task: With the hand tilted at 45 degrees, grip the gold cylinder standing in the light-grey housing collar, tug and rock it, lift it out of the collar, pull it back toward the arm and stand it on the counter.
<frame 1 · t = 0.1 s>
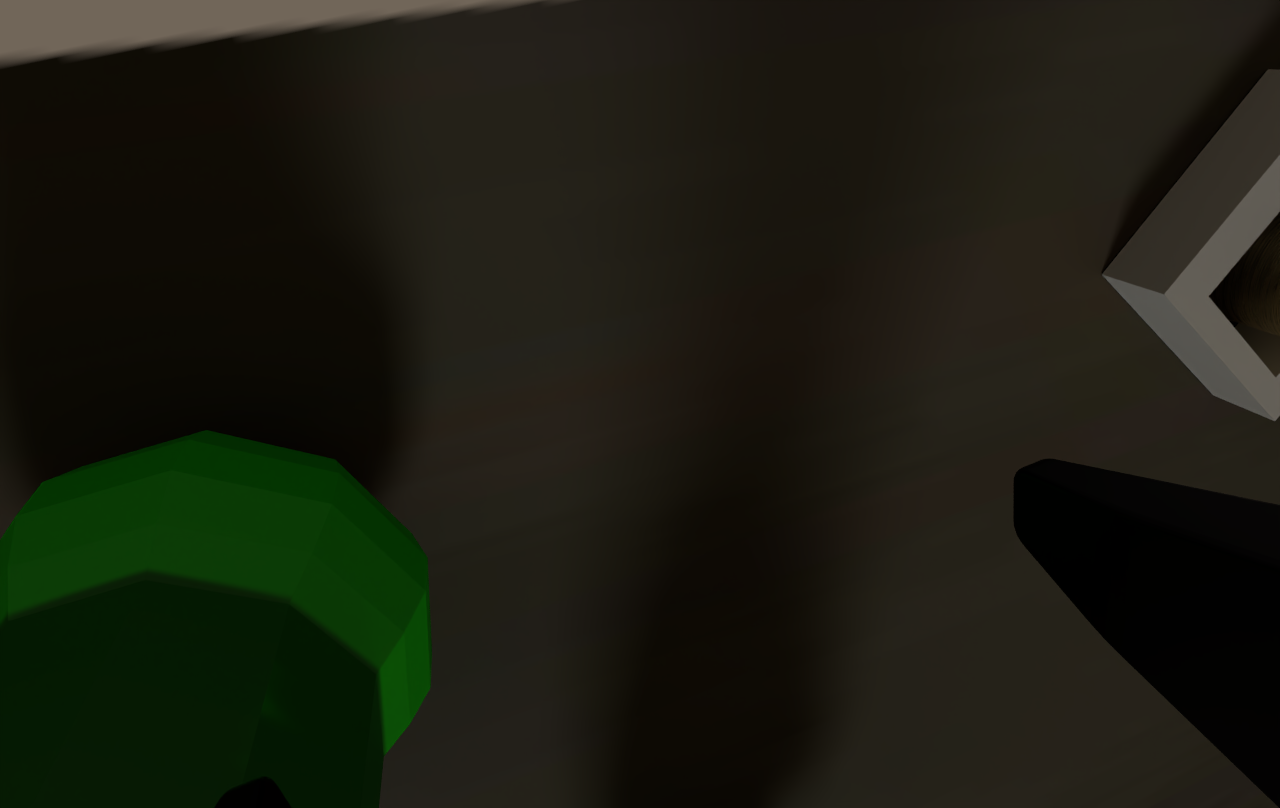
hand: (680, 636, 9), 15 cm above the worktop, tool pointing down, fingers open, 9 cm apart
plastic bottle: (255, 531, 22), on the worktop, touching gripper
housing: (1232, 254, 30), on the worktop
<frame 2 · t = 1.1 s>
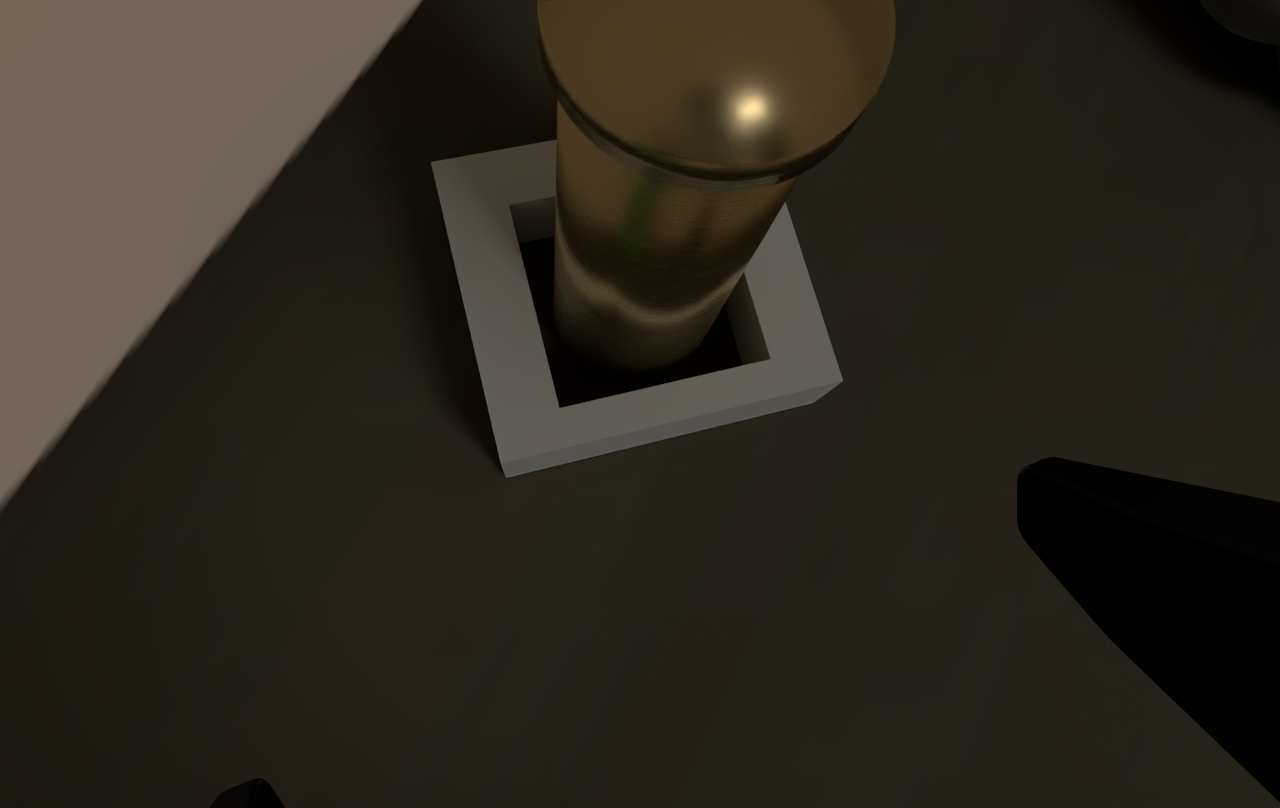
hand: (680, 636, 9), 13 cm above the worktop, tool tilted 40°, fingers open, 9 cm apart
gold cylinder: (658, 212, 18), in the housing
housing: (629, 313, 24), on the worktop
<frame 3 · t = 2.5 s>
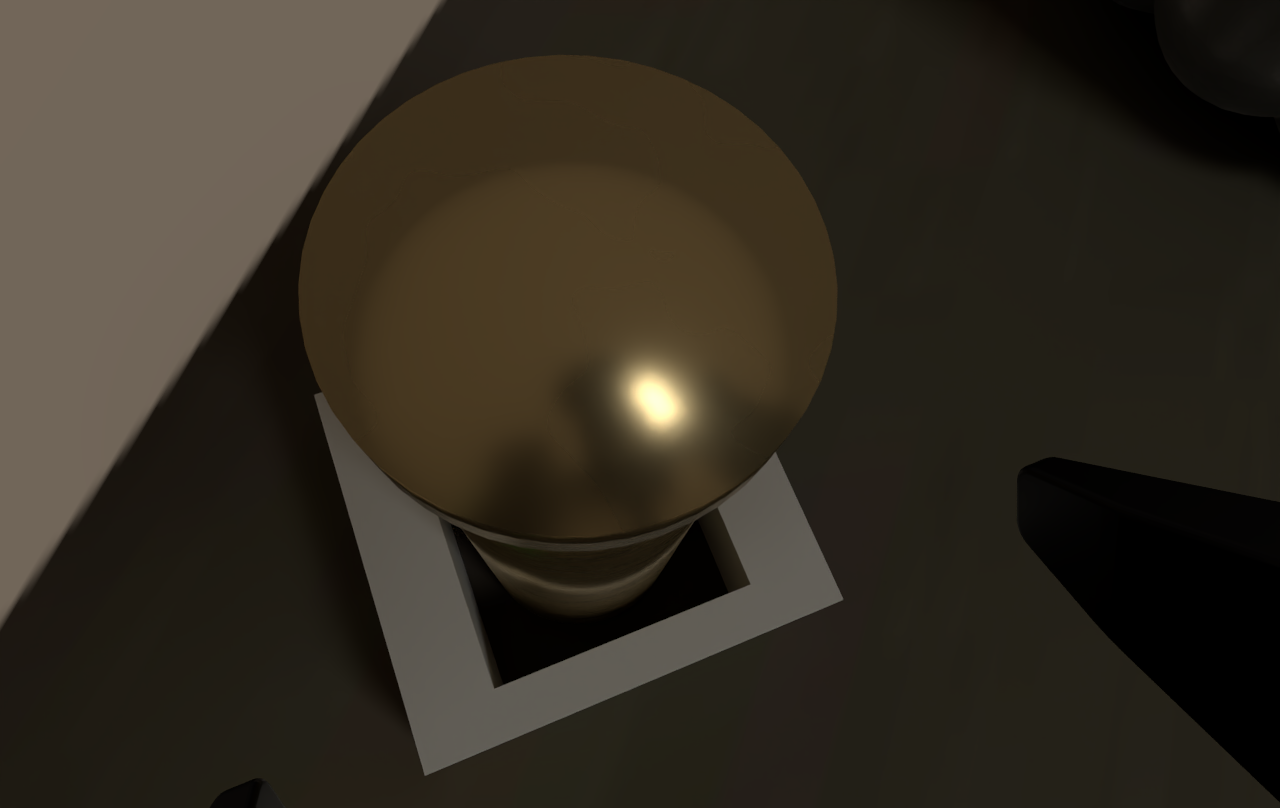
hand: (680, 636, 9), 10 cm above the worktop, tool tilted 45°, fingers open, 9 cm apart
gold cylinder: (577, 457, 14), in the housing
housing: (578, 530, 20), on the worktop
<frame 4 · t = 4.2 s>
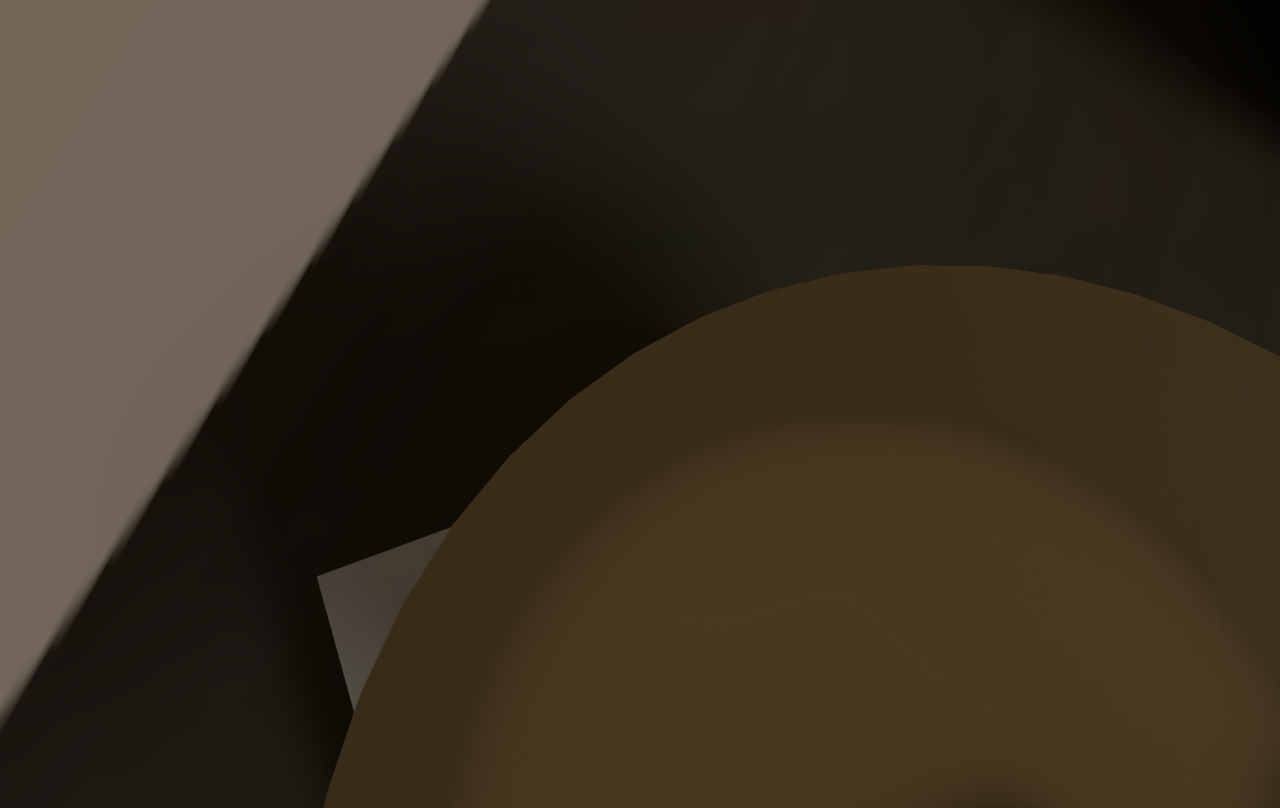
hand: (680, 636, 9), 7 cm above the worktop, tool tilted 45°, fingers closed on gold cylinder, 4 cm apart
gold cylinder: (728, 762, 9), in the housing, touching gripper
housing: (667, 732, 15), on the worktop
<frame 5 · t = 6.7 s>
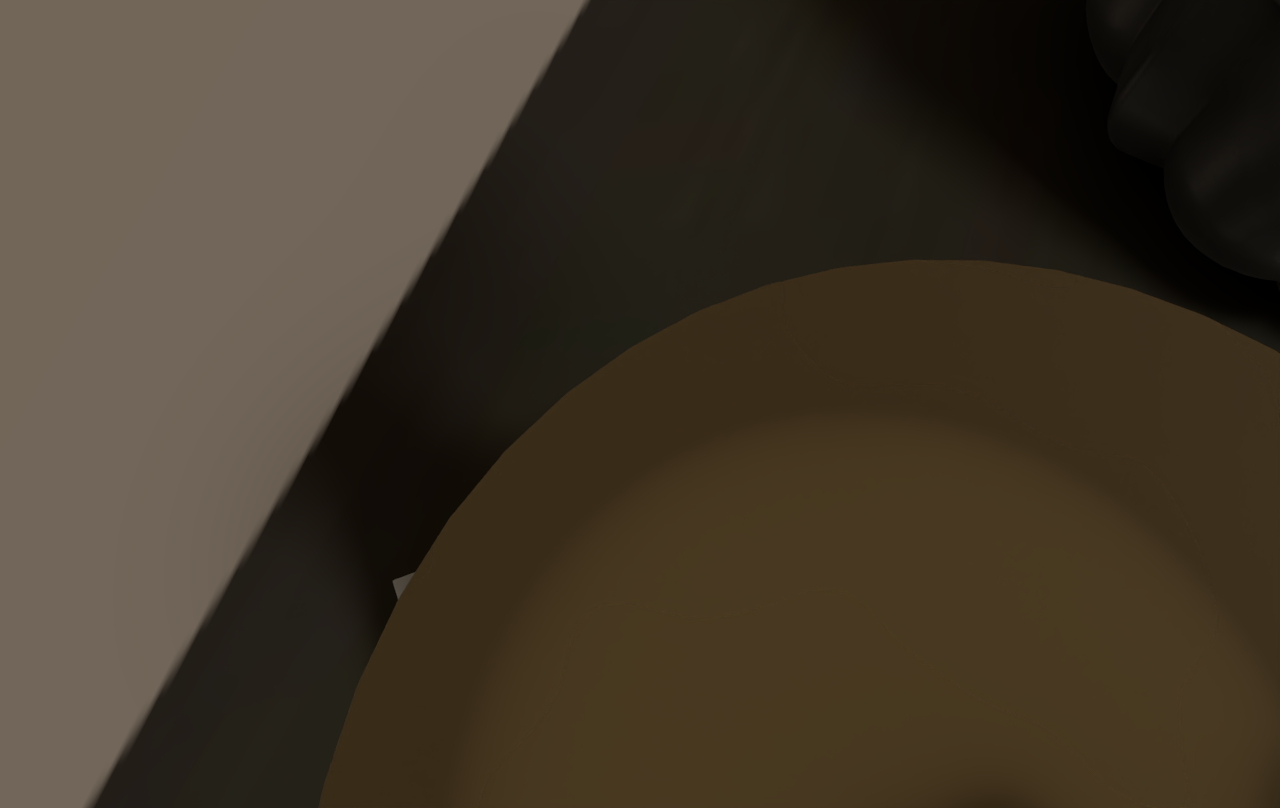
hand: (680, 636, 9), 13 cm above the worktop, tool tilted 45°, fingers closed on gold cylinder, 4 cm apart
gold cylinder: (727, 759, 9), point 13 cm above the worktop, touching gripper
when the fingers open (7 cm above the worktop, at t = 9.2 s): gold cylinder stays where it is, on the worktop.
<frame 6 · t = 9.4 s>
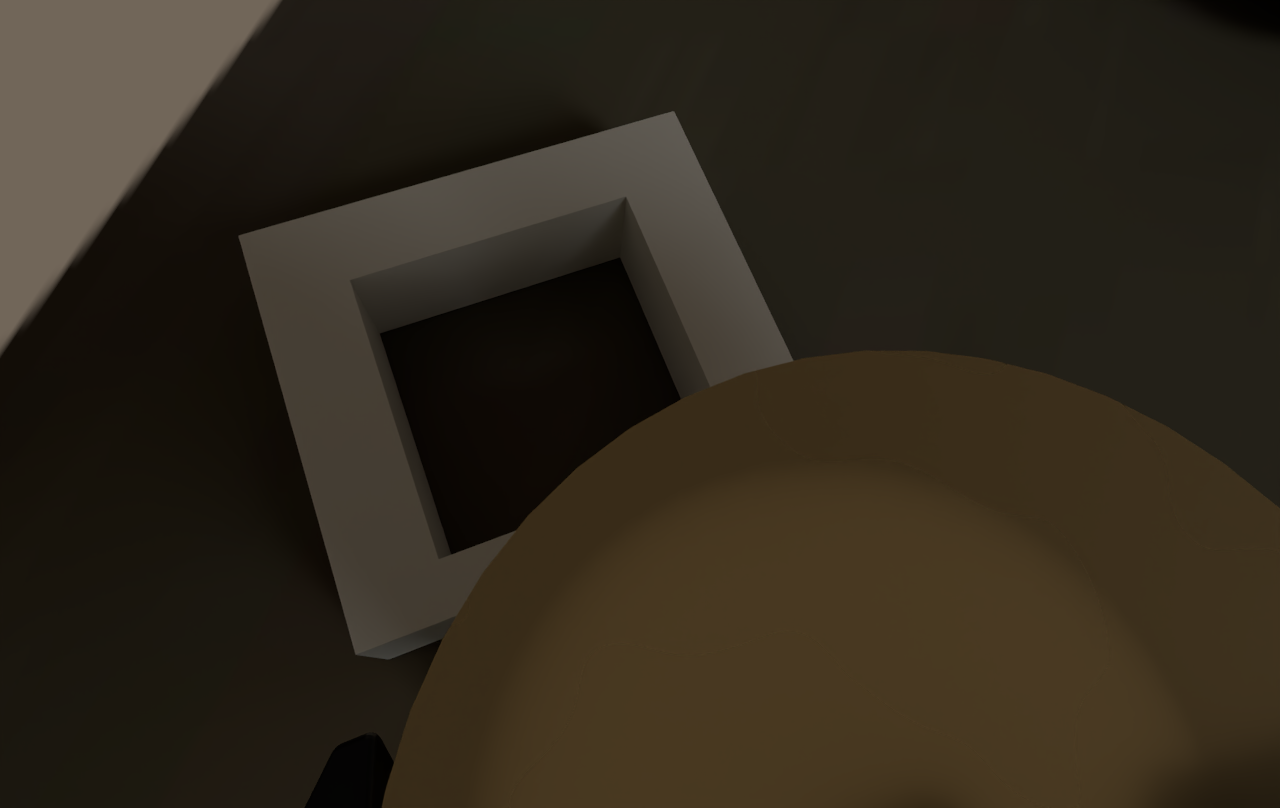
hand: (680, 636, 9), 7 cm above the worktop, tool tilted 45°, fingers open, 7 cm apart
gold cylinder: (719, 763, 10), on the worktop
housing: (545, 405, 18), on the worktop
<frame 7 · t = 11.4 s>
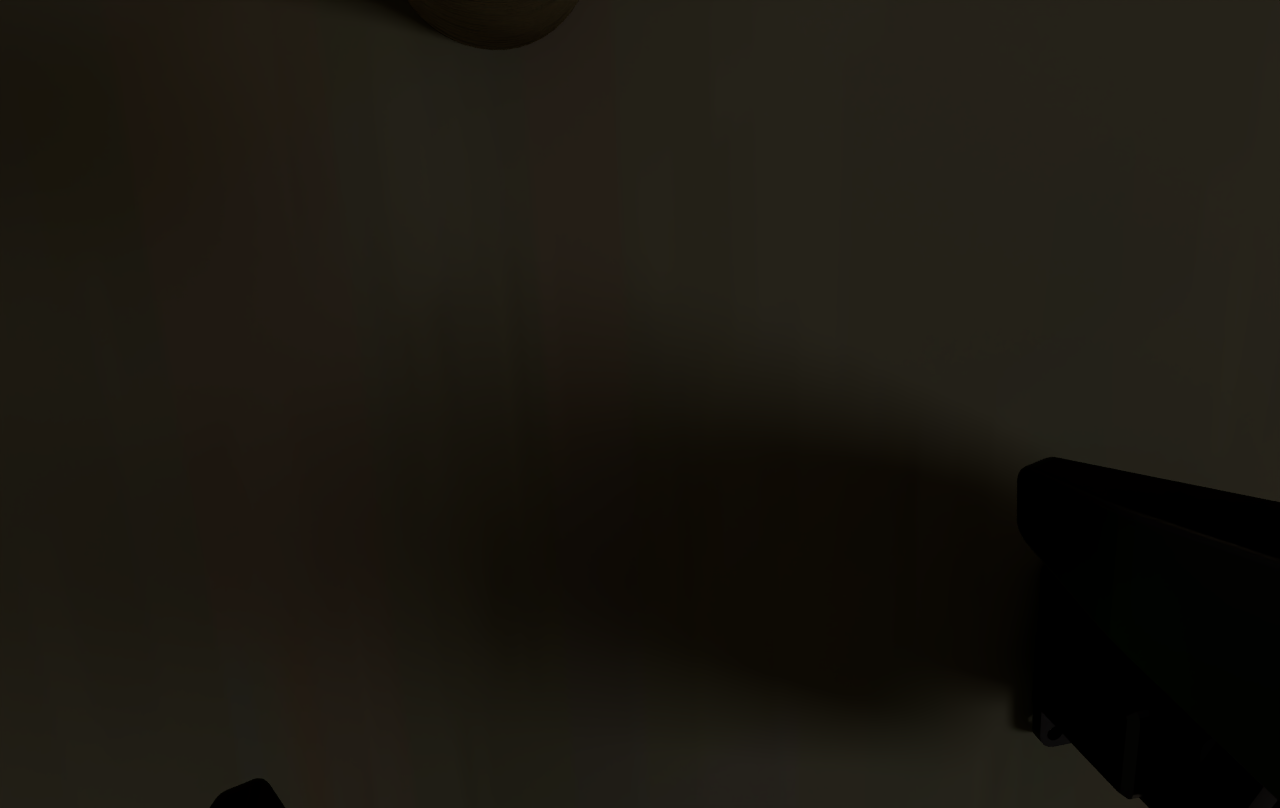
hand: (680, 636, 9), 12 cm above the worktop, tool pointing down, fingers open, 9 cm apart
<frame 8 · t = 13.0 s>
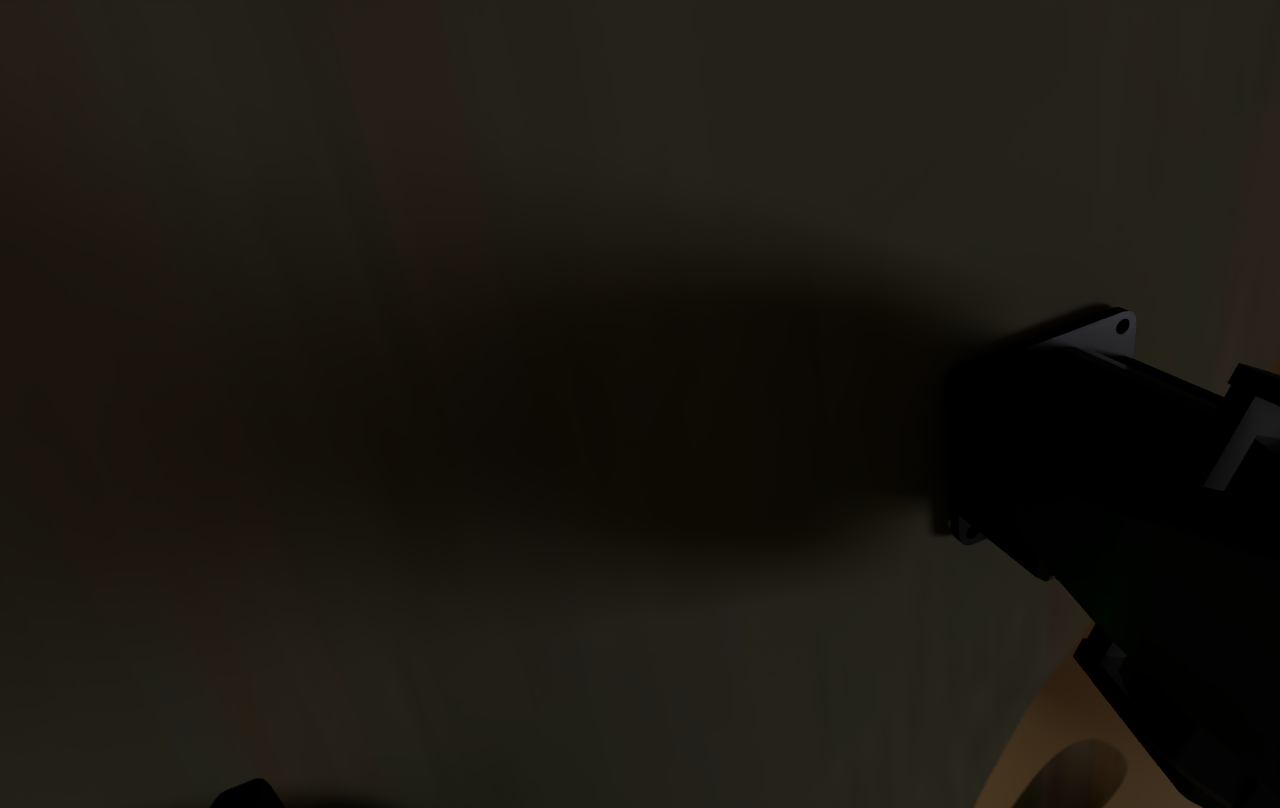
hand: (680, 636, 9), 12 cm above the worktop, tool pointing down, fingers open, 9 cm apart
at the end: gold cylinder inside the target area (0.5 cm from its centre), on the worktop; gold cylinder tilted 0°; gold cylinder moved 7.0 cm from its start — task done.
